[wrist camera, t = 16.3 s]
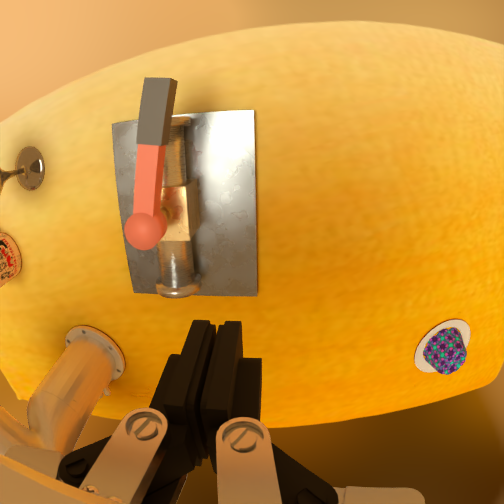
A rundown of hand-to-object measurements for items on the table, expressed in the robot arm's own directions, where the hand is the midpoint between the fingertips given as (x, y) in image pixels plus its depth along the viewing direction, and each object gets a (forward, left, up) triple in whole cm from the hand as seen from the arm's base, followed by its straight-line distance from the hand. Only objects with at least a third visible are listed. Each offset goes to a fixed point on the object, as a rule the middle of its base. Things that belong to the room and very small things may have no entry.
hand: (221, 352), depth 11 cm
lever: (+5, +9, -19) cm, 22 cm away
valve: (-2, +9, -29) cm, 31 cm away
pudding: (-26, -33, -30) cm, 51 cm away
